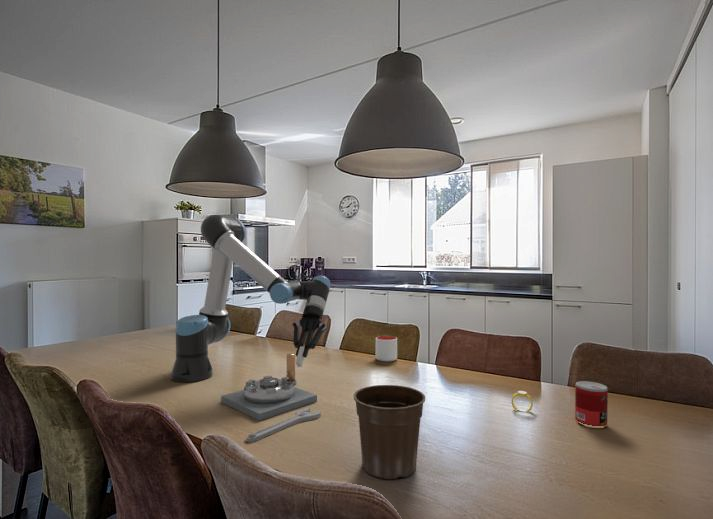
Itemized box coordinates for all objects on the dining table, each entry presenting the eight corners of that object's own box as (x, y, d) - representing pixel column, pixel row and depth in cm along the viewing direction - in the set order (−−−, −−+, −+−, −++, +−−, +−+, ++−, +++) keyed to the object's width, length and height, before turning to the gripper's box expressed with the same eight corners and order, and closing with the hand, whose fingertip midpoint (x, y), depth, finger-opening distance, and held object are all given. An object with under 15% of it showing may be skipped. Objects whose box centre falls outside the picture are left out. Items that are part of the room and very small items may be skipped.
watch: (531, 411, 126) (533, 392, 126) (531, 415, 123) (533, 395, 123) (511, 407, 128) (512, 388, 128) (510, 410, 126) (512, 391, 126)
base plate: (221, 401, 133) (221, 395, 133) (277, 386, 149) (277, 380, 149) (259, 420, 118) (259, 413, 118) (317, 401, 134) (317, 395, 134)
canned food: (607, 431, 111) (607, 391, 111) (574, 425, 115) (574, 386, 115) (607, 422, 117) (607, 383, 117) (576, 416, 122) (576, 379, 122)
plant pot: (364, 445, 103) (364, 381, 103) (429, 454, 98) (429, 387, 98) (343, 478, 87) (344, 403, 87) (419, 491, 83) (419, 412, 82)
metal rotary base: (244, 406, 123) (244, 363, 123) (243, 390, 139) (243, 351, 139) (300, 401, 128) (300, 359, 128) (292, 385, 144) (292, 348, 143)
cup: (400, 358, 190) (401, 337, 190) (390, 363, 181) (391, 340, 181) (382, 355, 195) (382, 334, 195) (371, 360, 187) (371, 338, 187)
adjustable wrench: (250, 445, 104) (250, 438, 104) (237, 437, 108) (237, 431, 108) (324, 417, 122) (324, 411, 122) (310, 411, 126) (310, 405, 126)
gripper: (332, 316, 158) (319, 371, 142) (300, 315, 161) (284, 369, 145) (328, 304, 153) (313, 359, 137) (295, 303, 156) (277, 357, 140)
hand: (298, 364), depth 141 cm, fingers closed
